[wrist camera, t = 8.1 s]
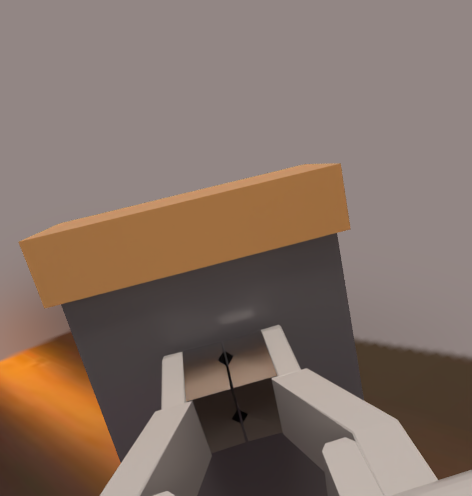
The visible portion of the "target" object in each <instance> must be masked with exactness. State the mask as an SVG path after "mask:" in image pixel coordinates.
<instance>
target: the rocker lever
mask: <svg viewBox="0 0 472 496" xmlns="http://www.w3.org/2000/svg"><path fill="white" fill-rule="evenodd" d="M349 229H350V222H349V216H348V209H347V203H346V196H345V189H344V184H343V176H342V169H341V164H340V163H339V164H304V165H300V166H296V167H292V168H287V169H283V170H279V171H275V172H271V173H267V174H263V175H258V176H254V177H250V178H246V179H242V180H238V181H234V182H229V183H226V184H221V185H217V186H213V187H209V188H205V189H200V190H196V191H193V192H188V193H184V194H180V195H176V196H172V197H168V198H163V199H159V200H155V201H151V202H147V203H143V204H139V205H135V206H130V207H126V208H122V209H118V210H114V211H109V212H105V213H102V214H97V215H93V216H89V217H85V218H81V219H76V220H72V221H68V222H64V223H60V224H57V225H55V226H53V227H51V228H49V229H46V230H44V231H42V232H40V233H37V234H35V235H33V236H31V237H28V238H26V239H24V240H22V241H19V244H20V247H21V249H22V252H23V254H24V257H25V260H26V262H27V265H28V267H29V270H30V272H31V275H32V277H33V280H34V282H35V285H36V288H37V290H38V293H39V295H40V298H41V300H42V303H43V306H44V308H48V307H53V306H56V305H60V304H61V305H62V308H63V311H64V313H65V316H66V319H67V321H68V324H69V327H70V329H71V332H72V335H73V337H74V340H75V342H76V345H77V348H78V350H79V353H80V356H81V358H82V361H83V364H84V366H85V369H86V372H87V374H88V377H89V380H90V382H91V385H92V388H93V390H94V393H95V395H96V398H97V401H98V403H99V406H100V409H101V411H102V414H103V417H104V419H105V422H106V425H107V427H108V430H109V433H110V435H111V438H112V440H113V443H114V446H115V448H116V451H117V454H118V456H119V459H120V462H121V463H122V461H123V460H124V458H125V457H126V455H127V454H128V452H129V450H130V449H131V447H132V446H133V444H134V443H135V441H136V440H137V438H138V437H139V435H140V434H141V432H142V431H143V429H144V428H145V426H146V425H147V423H148V422H149V420H150V419H151V417H152V416H153V414H154V413H155V411H159V410H161V396H162V360H163V357H164V356H167V355H171V354H175V353H179V352H183V351H185V350H189V349H193V348H197V347H201V346H205V345H209V344H213V343H217V342H221V343H222V346H223V349H224V353H225V357H226V361H227V365H229V364H228V360H227V356H226V352H225V348H224V343H223V341H225V340H229V339H232V338H236V337H239V336H243V335H246V334H250V333H253V332H257V331H261V330H262V329H266V328H269V327H273V326H276V325H280V326H281V328H282V330H283V332H284V334H285V336H286V338H287V340H288V343H289V345H290V347H291V349H292V351H293V353H294V356H295V358H296V360H297V362H298V364H299V366H300V368H301V370H302V369H306V368H307V369H309V370H311V371H313V372H314V373H316V374H318V375H320V376H321V377H323V378H325V379H327V380H328V381H330V382H332V383H334V384H335V385H337V386H339V387H341V388H342V389H344V390H346V391H348V392H349V393H351V394H353V395H355V396H356V397H358V398H360V399H362V400H363V401H364V398H363V392H362V386H361V379H360V373H359V367H358V361H357V355H356V348H355V342H354V336H353V330H352V324H351V317H350V311H349V305H348V299H347V293H346V287H345V280H344V274H343V268H342V262H341V255H340V250H339V243H338V237H337V233H338V232H342V231H346V230H349ZM228 367H229V366H228ZM237 406H238V403H237ZM238 410H239V414H240V418H241V422H242V427H243V432H244V436H245V441H246V442H245V443H242V444H239V445H235V446H232V447H229V448H226V449H223V450H220V451H217V452H214V453H211V455H212V457H211V460H210V462H209V465H208V468H207V471H206V473H205V476H204V479H203V481H202V484H201V487H200V489H199V492H198V495H197V496H328V495H327V487H326V479H325V472H324V471H323V470H322V469H321V468H320V467H319V466H317V465H316V464H315V463H314V462H313V461H312V460H311V459H310V458H309V457H308V456H307V455H305V454H304V453H303V452H302V451H301V450H300V449H299V448H298V447H297V446H296V445H295V444H293V443H292V442H291V441H290V440H289V439H288V438H287V437H286V436H285V435H284V434H283V432H282V433H278V434H274V435H270V436H267V437H263V438H259V439H255V440H252V441H248V438H247V435H246V432H245V428H244V425H243V421H242V417H241V412H240V409H239V407H238Z"/></svg>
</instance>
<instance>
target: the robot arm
mask: <svg viewBox="0 0 472 496" xmlns="http://www.w3.org/2000/svg"><path fill="white" fill-rule="evenodd" d="M223 343H224V348H225V352H226V356H227V360H228V364H229V365H227V361H226V357H225V353H224V349H223V346H222V343H221V342H217V343H213V344H209V345H205V346H201V347H197V348H193V349H189V350H185V351H183V352H179V353H175V354H171V355H167V356H164V357H163V360H162V396H161V410H159V411H155V413H154V414H153V416H152V417H151V419H150V420H149V422H148V423H147V425H146V426H145V428H144V429H143V431H142V432H141V434H140V435H139V437H138V438H137V440H136V441H135V443H134V444H133V446H132V447H131V449H130V450H129V452H128V454H127V455H126V457H125V458H124V460H123V461H122V463H121V464H120V466H119V467H118V469H117V470H116V472H115V473H114V475H113V476H112V478H111V479H110V481H109V482H108V484H107V485H106V487H105V488H104V490H103V491H102V493H101V494H100V496H197V495H198V492H199V489H200V487H201V484H202V481H203V479H204V476H205V473H206V471H207V468H208V465H209V462H210V460H211V457H212V455H211V453H214V452H217V451H220V450H223V449H226V448H229V447H232V446H235V445H239V444H242V443H245V442H246V441H245V436H244V432H243V427H242V422H241V418H240V414H239V410H238V407H239V409H240V412H241V417H242V421H243V425H244V428H245V432H246V435H247V438H248V441H252V440H255V439H259V438H263V437H267V436H270V435H274V434H278V433H282V432H283V434H284V435H285V436H286V437H287V438H288V439H289V440H290V441H291V442H292V443H293V444H295V445H296V446H297V447H298V448H299V449H300V450H301V451H302V452H303V453H304V454H305V455H307V456H308V457H309V458H310V459H311V460H312V461H313V462H314V463H315V464H316V465H317V466H319V467H320V468H321V469H322V470H323V471H324V472H325V479H326V487H327V495H328V496H472V470H470V471H466V472H463V473H460V474H457V475H454V476H451V477H448V478H444V479H441V480H438V479H437V478H436V476H435V475H434V473H433V472H432V470H431V469H430V467H429V466H428V464H427V463H426V461H425V460H424V458H423V457H422V456H421V454H420V453H419V451H418V450H417V448H416V447H415V445H414V444H413V442H412V441H411V439H410V438H409V436H408V435H407V433H406V432H405V430H404V429H403V427H402V426H401V424H400V423H399V421H398V420H397V419H395V418H393V417H391V416H390V415H388V414H386V413H384V412H383V411H381V410H379V409H377V408H376V407H374V406H372V405H370V404H369V403H367V402H365V401H363V400H362V399H360V398H358V397H356V396H355V395H353V394H351V393H349V392H348V391H346V390H344V389H342V388H341V387H339V386H337V385H335V384H334V383H332V382H330V381H328V380H327V379H325V378H323V377H321V376H320V375H318V374H316V373H314V372H313V371H311V370H309V369H307V368H306V369H302V370H301V368H300V366H299V364H298V362H297V360H296V358H295V356H294V353H293V351H292V349H291V347H290V345H289V343H288V340H287V338H286V336H285V334H284V332H283V330H282V328H281V326H280V325H276V326H273V327H269V328H266V329H262V330H261V331H257V332H253V333H250V334H246V335H243V336H239V337H236V338H232V339H229V340H225V341H223ZM228 366H229V367H228ZM237 403H238V406H237Z"/></svg>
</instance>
